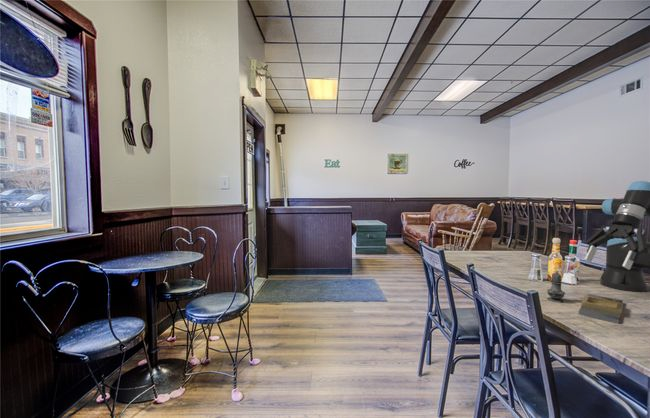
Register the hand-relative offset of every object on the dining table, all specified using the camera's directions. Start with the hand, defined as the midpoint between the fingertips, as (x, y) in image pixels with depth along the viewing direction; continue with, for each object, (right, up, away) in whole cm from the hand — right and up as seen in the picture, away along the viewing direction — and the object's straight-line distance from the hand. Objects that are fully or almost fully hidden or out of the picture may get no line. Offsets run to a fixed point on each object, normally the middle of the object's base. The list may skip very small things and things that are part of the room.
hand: (605, 264), depth 114 cm
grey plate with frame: (-8, -15, -7) cm, 19 cm away
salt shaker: (-19, -15, +2) cm, 24 cm away
